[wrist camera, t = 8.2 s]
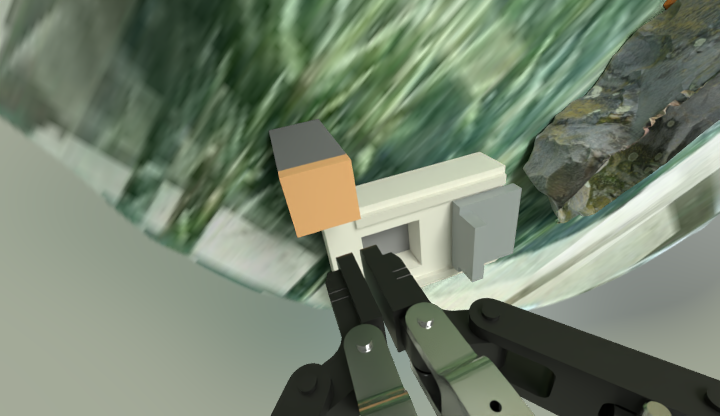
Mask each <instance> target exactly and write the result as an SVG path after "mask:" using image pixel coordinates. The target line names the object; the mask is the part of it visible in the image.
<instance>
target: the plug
mask: <svg viewBox="0 0 720 416" xmlns="http://www.w3.org/2000/svg"><path fill="white" fill-rule="evenodd" d="M269 134H270V138H271V143H272V147H273V152H274V157H275V161H276V166H277V170H278V175H279V179H280V182H281V186H282V189H283V192H284V195H285V198H286V202H287V205H288V208H289V211H290V214H291V218H292V221H293V224H294V227H295V231H296V234H297V237H302V236H305V235H309V234H312V233H315V232H319V231H322V230H325V229H329V228H332V227H335V226H339V225H342V224H346V223H349V222H352V221H356V220H359V219H361V216H360V210H359V205H358V199H357V193H356V187H355V181H354V176H353V170H352V164H351V159H350V158H349V157H348V156H347V154H346V153H345V152H344V150H343V149H342V148H341V147H340V145H339V144H338V143H337V142H336V140H335V139H334V138H333V137H332V135H331V134H330V133H329V132H328V130H327V129H326V128H325V127H324V125H323V124H322V123H321V122H320V120H319V119H316V120H312V121H308V122H303V123H299V124H295V125H290V126H286V127H282V128H277V129H273V130H269Z"/></svg>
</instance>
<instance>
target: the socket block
mask: <svg viewBox="0 0 720 416" xmlns="http://www.w3.org/2000/svg"><path fill="white" fill-rule="evenodd" d="M504 184H506V174H505V165H504V164H502V163H500V162H498V161H496V160H494V159H492V158H490V157H489V156H487V155H485V154H483V153H481V152H477V153H474V154H470V155H466V156H463V157H459V158H456V159H452V160H448V161H445V162H441V163H438V164H434V165H430V166H427V167H423V168H420V169H416V170H412V171H409V172H405V173H401V174H398V175H394V176H391V177H387V178H383V179H380V180H376V181H373V182H369V183H365V184H362V185H358V186H355V187H356V193H357V199H358V205H359V210H360V216H361V219H359V220H356V221H352V222H349V223H346V224H342V225H339V226H335V227H332V228H329V229H325V230H322V235H323V239H324V243H325V247H326V250H327V254H328V258H329V262H330V266H331V270H332V272H333V271H336V270H338V266H337V262H336V257H339V256H342V255H345V254H348V253H351V252H352V253H353V255H354V257H355V259H356V261H357V263H358V265H359V267H360V270H361V272H362V274H363V276H364V272H363V267H362V262H361V256H360V249H363V248H366V247H369V246H373V245H377V246H378V248H379V250H380V251H381V253H382V255H384V254H387V253H390V252H392V253H393V254H395V255H397V256H398V257H400V258H401V259H402V261H403V262H404V264H405V265H406V267H407V268H408V270H409V271H410V273H411V275H412V276H413V277H414V279H415V280H416V282H417V283H418V285H419V286H420V287H423V286H426V285H429V284H432V283H435V282H437V281H440V280H443V279H446V278H449V277H452V276H455V275H457V274H460V273H463V271H461V272H458V271H457V270H456V269H455V268H454V267H453V266H452V215H453V201H456V200H459V199H462V198H466V197H469V196H472V195H476V194H479V193H482V192H485V191H489V190H492V189H495V188H499V187H502V186H503V185H504ZM496 260H497V259H495V260H492V261H489V262H486V263H484V265H486V264H489V263H492V262H494V261H496ZM364 278H365V277H364Z"/></svg>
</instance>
